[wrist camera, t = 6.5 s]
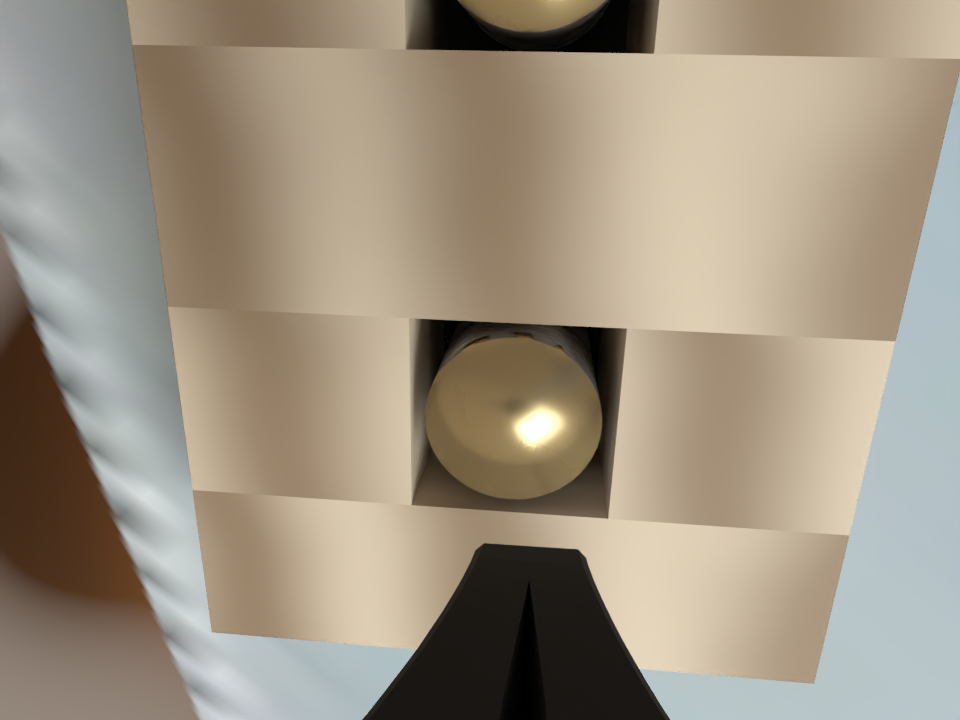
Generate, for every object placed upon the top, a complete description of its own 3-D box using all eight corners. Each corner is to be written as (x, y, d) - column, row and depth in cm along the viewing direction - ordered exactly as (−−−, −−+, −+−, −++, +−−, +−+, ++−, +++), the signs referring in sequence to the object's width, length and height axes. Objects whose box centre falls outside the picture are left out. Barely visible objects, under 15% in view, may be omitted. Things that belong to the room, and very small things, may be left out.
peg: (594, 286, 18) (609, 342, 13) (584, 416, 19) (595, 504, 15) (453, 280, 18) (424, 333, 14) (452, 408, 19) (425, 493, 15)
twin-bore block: (925, -391, 13) (1135, -666, 8) (752, 550, 20) (814, 683, 16) (209, -369, 14) (44, -602, 10) (285, 517, 21) (212, 632, 17)
